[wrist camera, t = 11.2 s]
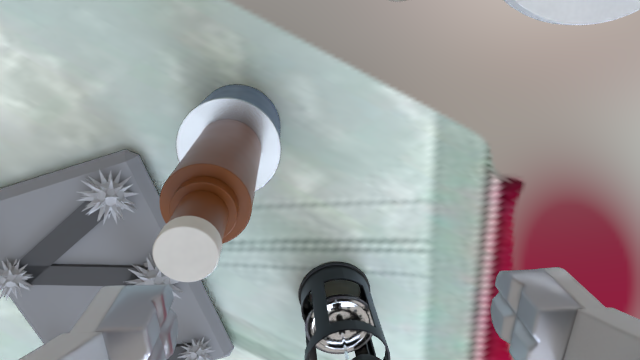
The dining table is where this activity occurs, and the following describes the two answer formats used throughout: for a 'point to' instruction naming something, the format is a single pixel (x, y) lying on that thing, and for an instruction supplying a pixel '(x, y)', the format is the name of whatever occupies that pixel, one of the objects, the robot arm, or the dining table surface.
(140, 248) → the decorative plate
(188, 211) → the bottle
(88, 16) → the dining table surface
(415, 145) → the dining table surface
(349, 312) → the french press
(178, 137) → the tin can
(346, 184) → the dining table surface
